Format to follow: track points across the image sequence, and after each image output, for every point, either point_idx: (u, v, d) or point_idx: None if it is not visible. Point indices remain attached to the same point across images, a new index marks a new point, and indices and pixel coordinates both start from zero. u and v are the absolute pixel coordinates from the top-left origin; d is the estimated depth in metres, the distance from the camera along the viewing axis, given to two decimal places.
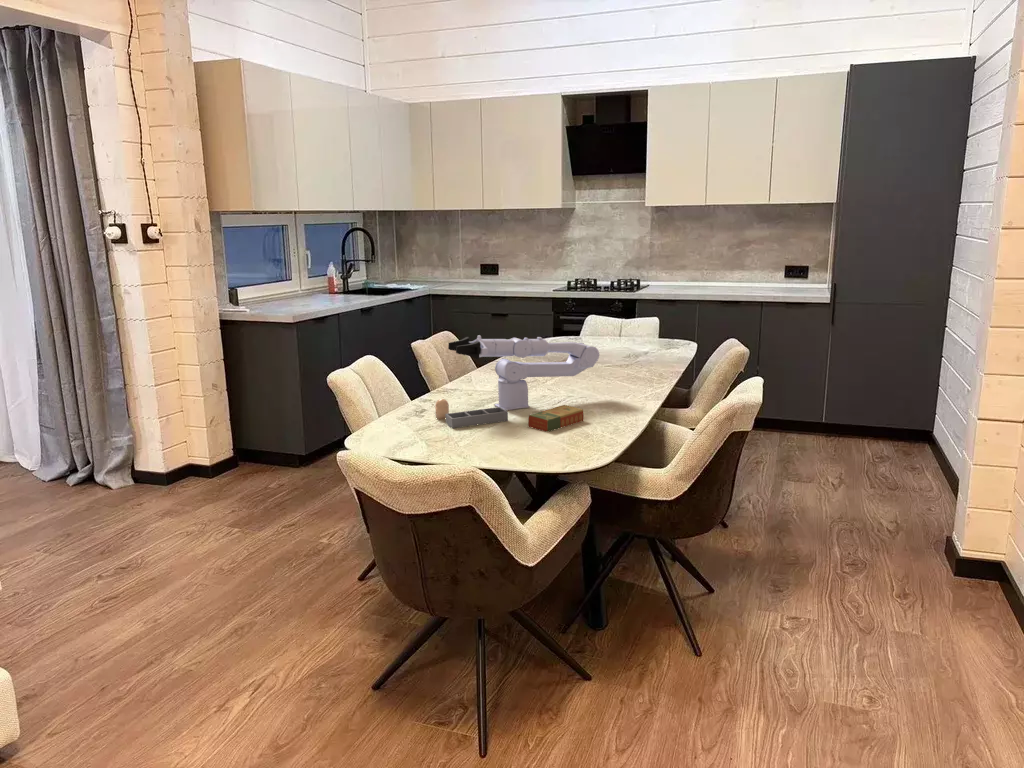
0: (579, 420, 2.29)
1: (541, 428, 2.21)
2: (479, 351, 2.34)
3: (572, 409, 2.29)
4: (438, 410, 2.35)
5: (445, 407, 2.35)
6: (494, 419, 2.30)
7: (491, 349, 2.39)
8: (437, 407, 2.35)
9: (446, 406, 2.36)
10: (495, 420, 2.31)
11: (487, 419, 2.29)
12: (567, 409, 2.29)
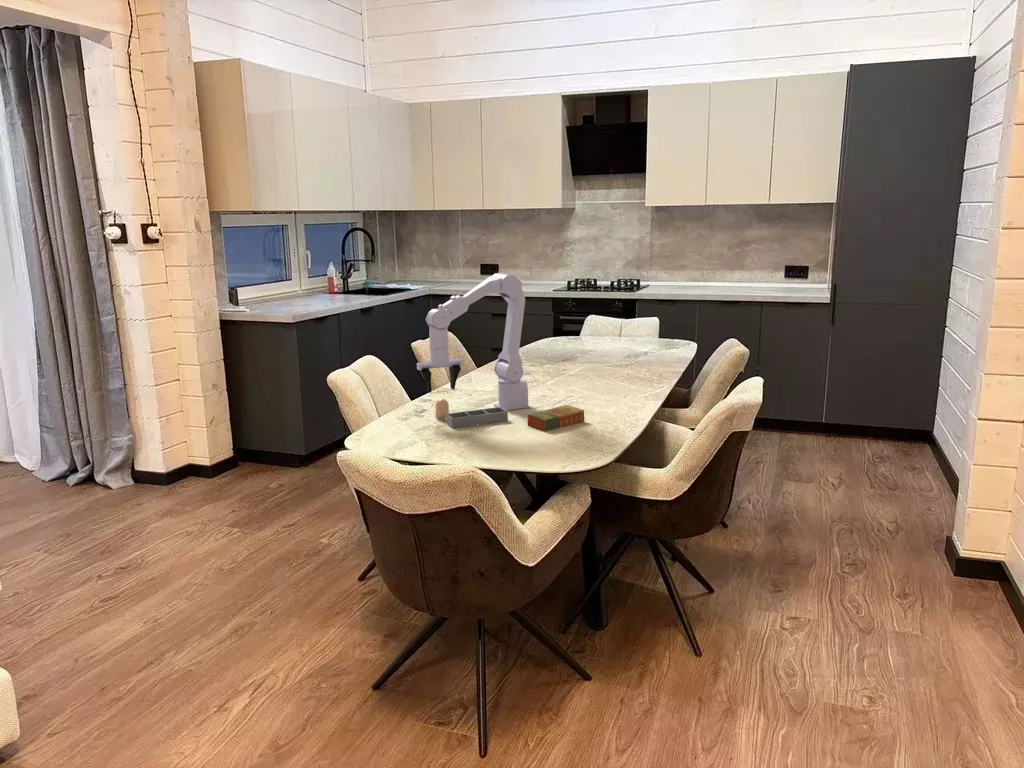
0: (580, 420, 2.28)
1: (539, 428, 2.22)
2: None
3: (573, 409, 2.29)
4: (438, 410, 2.35)
5: (445, 407, 2.35)
6: (494, 419, 2.30)
7: None
8: (437, 407, 2.35)
9: (446, 406, 2.36)
10: (495, 420, 2.31)
11: (487, 419, 2.29)
12: (568, 409, 2.29)
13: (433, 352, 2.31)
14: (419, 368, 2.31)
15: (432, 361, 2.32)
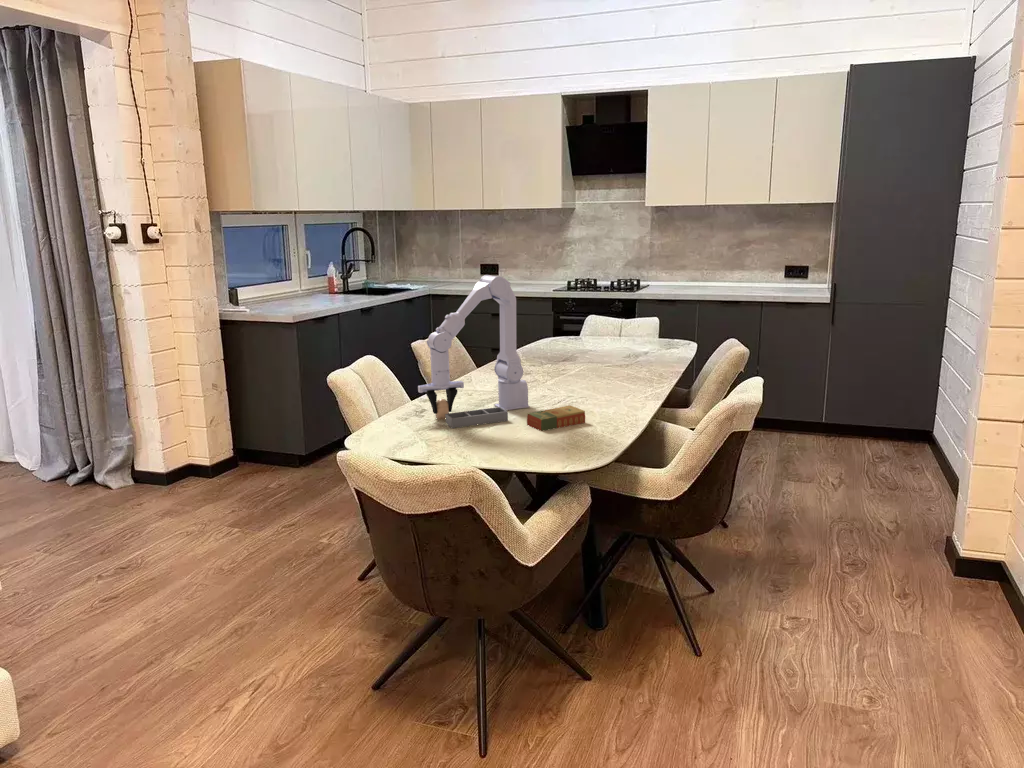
0: (580, 421, 2.27)
1: (536, 427, 2.23)
2: None
3: (573, 410, 2.28)
4: (438, 410, 2.35)
5: (445, 407, 2.35)
6: (494, 419, 2.30)
7: None
8: (437, 407, 2.35)
9: (446, 406, 2.36)
10: (495, 420, 2.31)
11: (487, 419, 2.29)
12: (568, 410, 2.28)
13: (434, 375, 2.32)
14: (420, 391, 2.32)
15: (433, 384, 2.33)
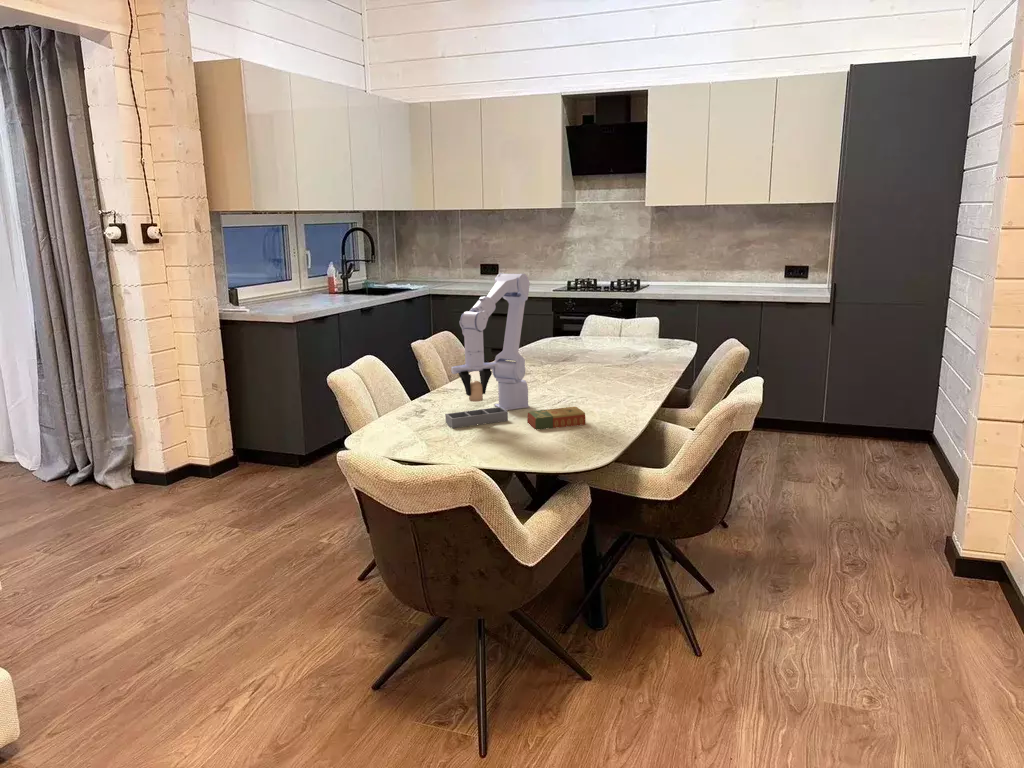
0: (580, 423, 2.26)
1: (532, 425, 2.24)
2: None
3: (574, 411, 2.27)
4: (472, 392, 2.28)
5: (479, 389, 2.28)
6: (494, 419, 2.30)
7: None
8: (471, 388, 2.28)
9: (480, 388, 2.28)
10: (495, 420, 2.31)
11: (487, 419, 2.29)
12: (569, 410, 2.27)
13: (468, 355, 2.25)
14: (454, 372, 2.25)
15: (467, 364, 2.26)
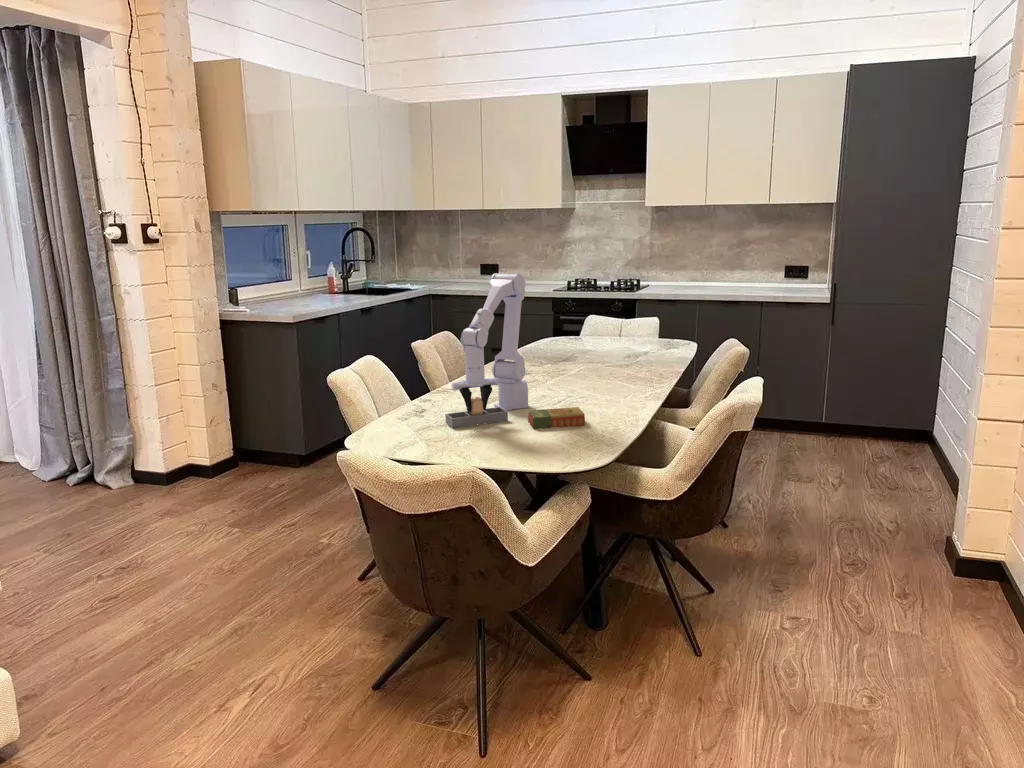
0: (579, 424, 2.25)
1: (531, 425, 2.25)
2: None
3: (574, 412, 2.26)
4: (473, 408, 2.29)
5: (479, 405, 2.29)
6: (494, 419, 2.30)
7: None
8: (471, 405, 2.29)
9: (481, 404, 2.29)
10: (495, 420, 2.31)
11: (487, 419, 2.29)
12: (569, 411, 2.27)
13: (469, 372, 2.26)
14: (455, 388, 2.26)
15: (468, 381, 2.27)
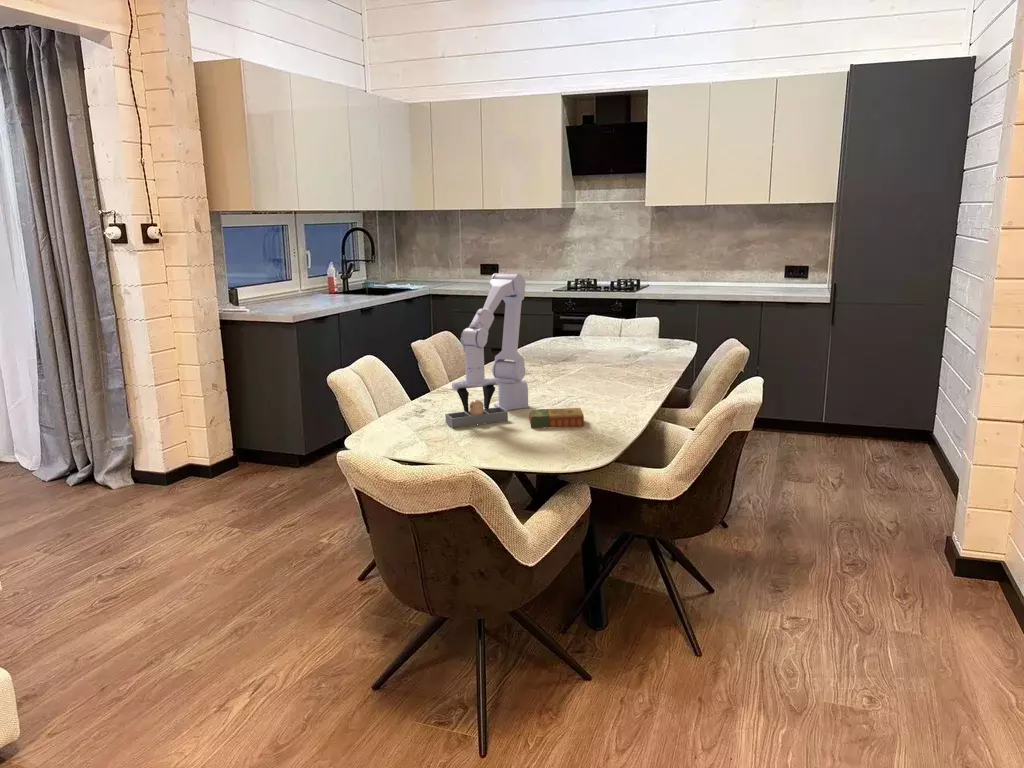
0: (578, 424, 2.24)
1: (530, 424, 2.26)
2: None
3: (574, 412, 2.25)
4: (473, 411, 2.29)
5: (480, 408, 2.29)
6: (494, 419, 2.30)
7: None
8: (471, 408, 2.29)
9: (481, 407, 2.29)
10: (495, 420, 2.31)
11: (487, 419, 2.29)
12: (569, 411, 2.26)
13: (469, 372, 2.26)
14: (455, 388, 2.26)
15: (468, 381, 2.27)
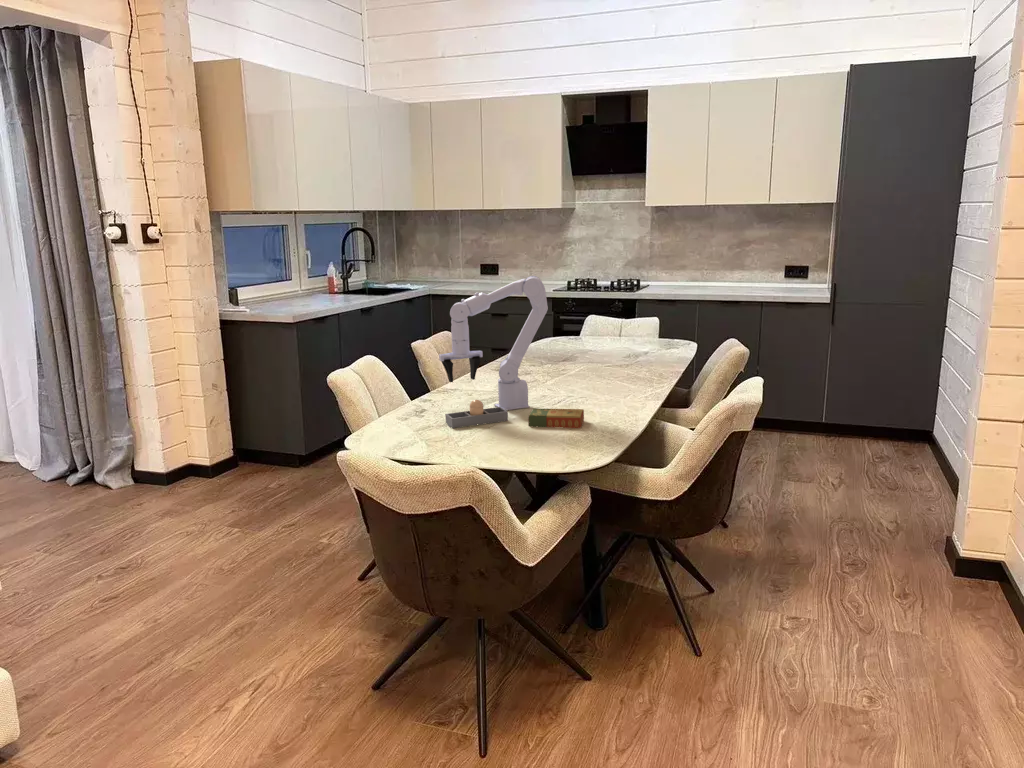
0: (575, 426, 2.23)
1: None
2: None
3: (572, 413, 2.24)
4: (473, 411, 2.29)
5: (480, 408, 2.29)
6: (494, 419, 2.30)
7: None
8: (471, 408, 2.29)
9: (481, 407, 2.29)
10: (495, 420, 2.31)
11: (487, 419, 2.29)
12: (569, 412, 2.25)
13: (455, 344, 2.42)
14: (441, 359, 2.41)
15: (454, 352, 2.43)
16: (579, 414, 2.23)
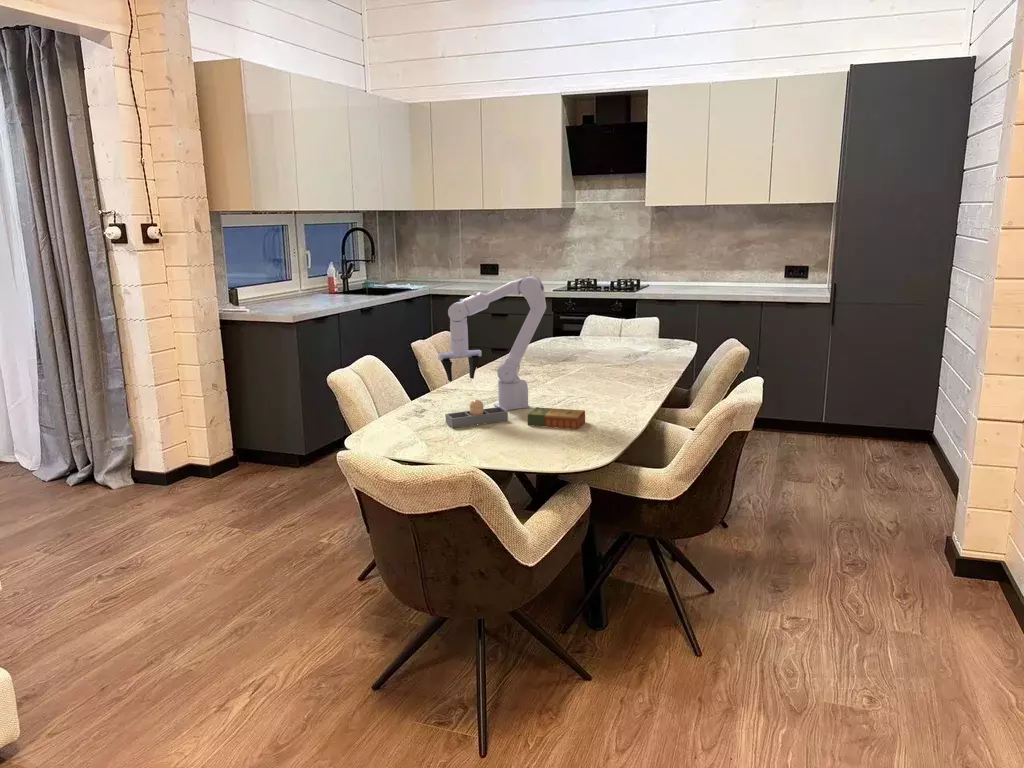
0: (572, 426, 2.22)
1: None
2: None
3: (570, 414, 2.23)
4: (473, 411, 2.29)
5: (480, 408, 2.29)
6: (494, 419, 2.30)
7: None
8: (471, 408, 2.29)
9: (481, 407, 2.29)
10: (495, 420, 2.31)
11: (487, 419, 2.29)
12: (568, 413, 2.25)
13: (454, 343, 2.43)
14: (440, 358, 2.43)
15: (452, 352, 2.44)
16: (577, 415, 2.22)
